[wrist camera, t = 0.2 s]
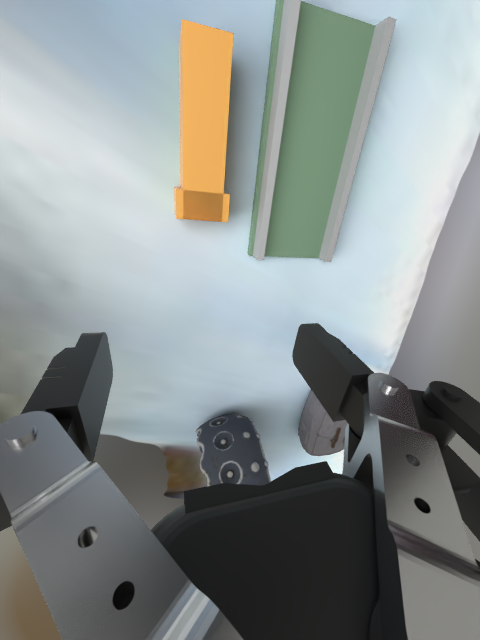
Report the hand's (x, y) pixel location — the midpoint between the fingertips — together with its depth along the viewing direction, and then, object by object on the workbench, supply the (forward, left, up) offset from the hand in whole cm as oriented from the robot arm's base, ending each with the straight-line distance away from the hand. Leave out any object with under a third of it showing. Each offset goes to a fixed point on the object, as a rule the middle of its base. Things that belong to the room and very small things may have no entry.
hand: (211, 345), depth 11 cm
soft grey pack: (+39, +34, -28) cm, 59 cm away
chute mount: (-10, +17, -28) cm, 34 cm away
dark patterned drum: (+41, +9, -28) cm, 51 cm away
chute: (-10, +3, -28) cm, 30 cm away
